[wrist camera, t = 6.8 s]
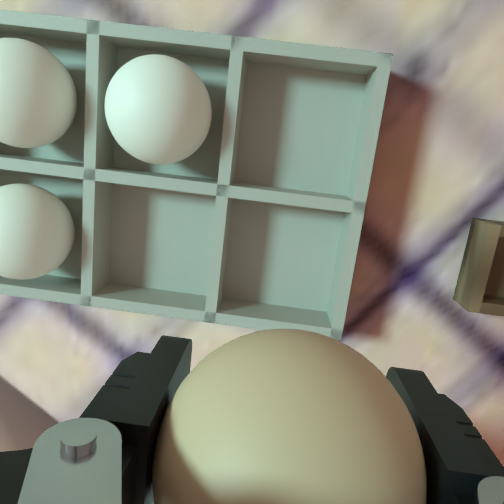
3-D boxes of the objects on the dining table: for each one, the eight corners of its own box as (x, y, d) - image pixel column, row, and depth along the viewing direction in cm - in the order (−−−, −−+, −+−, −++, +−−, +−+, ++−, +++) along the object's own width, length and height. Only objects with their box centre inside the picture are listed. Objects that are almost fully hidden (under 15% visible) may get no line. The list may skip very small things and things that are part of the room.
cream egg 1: (2, 45, 23) (-73, 17, 18) (95, 56, 22) (44, 30, 18) (4, 142, 24) (-66, 140, 19) (92, 153, 24) (44, 154, 19)
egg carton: (-13, 22, 23) (-55, 3, 20) (378, 66, 22) (393, 53, 19) (-6, 273, 26) (-41, 288, 23) (334, 318, 26) (341, 340, 23)
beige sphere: (193, 281, 10) (114, 402, 5) (405, 309, 10) (527, 460, 5) (177, 461, 11) (101, 695, 6) (366, 488, 11) (435, 751, 6)
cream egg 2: (5, 175, 24) (-64, 181, 19) (91, 186, 24) (44, 194, 19) (7, 259, 25) (-57, 285, 21) (89, 270, 25) (44, 299, 20)
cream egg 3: (128, 60, 22) (87, 35, 18) (223, 71, 22) (207, 49, 17) (124, 157, 24) (84, 159, 19) (213, 168, 23) (196, 172, 19)
